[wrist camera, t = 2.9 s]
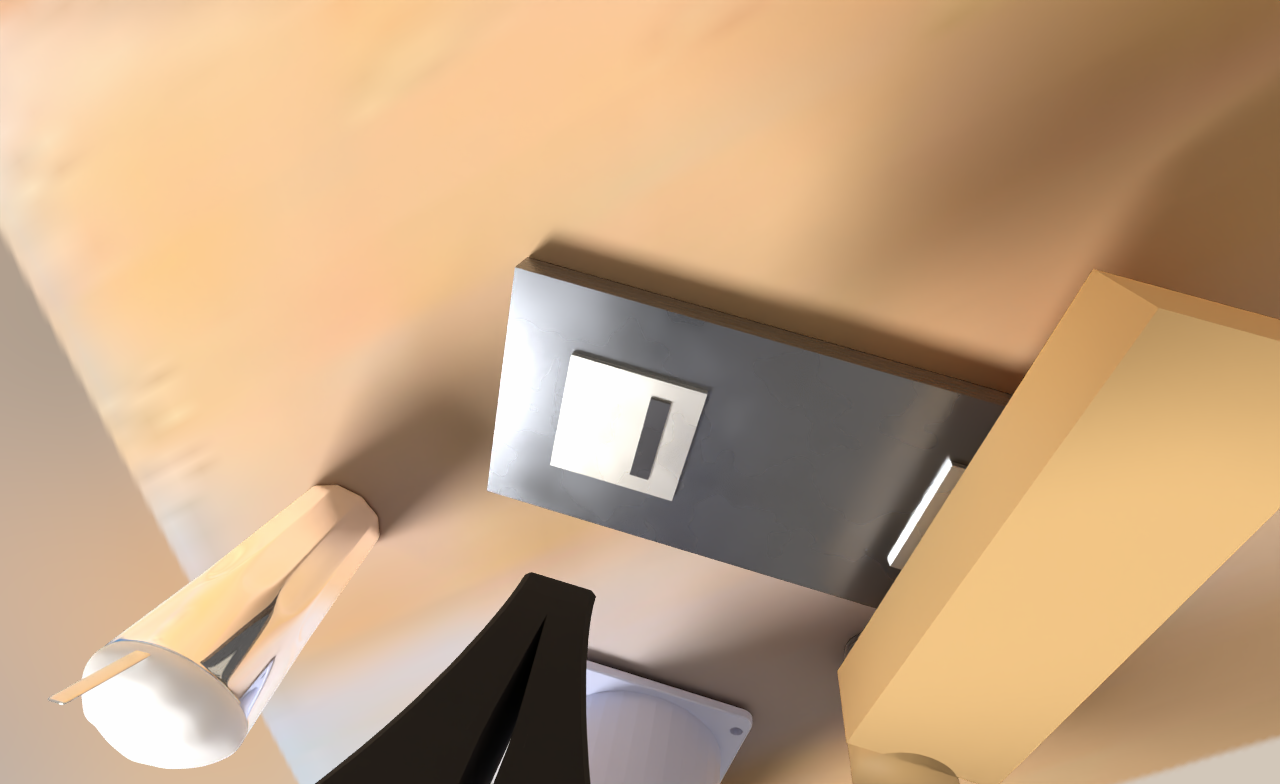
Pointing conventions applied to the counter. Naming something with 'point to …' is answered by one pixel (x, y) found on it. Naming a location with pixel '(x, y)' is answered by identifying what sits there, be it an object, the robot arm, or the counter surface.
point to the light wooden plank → (1069, 533)
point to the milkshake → (225, 636)
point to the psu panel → (726, 433)
